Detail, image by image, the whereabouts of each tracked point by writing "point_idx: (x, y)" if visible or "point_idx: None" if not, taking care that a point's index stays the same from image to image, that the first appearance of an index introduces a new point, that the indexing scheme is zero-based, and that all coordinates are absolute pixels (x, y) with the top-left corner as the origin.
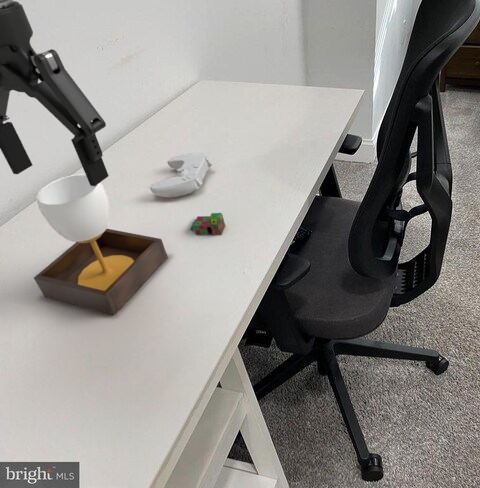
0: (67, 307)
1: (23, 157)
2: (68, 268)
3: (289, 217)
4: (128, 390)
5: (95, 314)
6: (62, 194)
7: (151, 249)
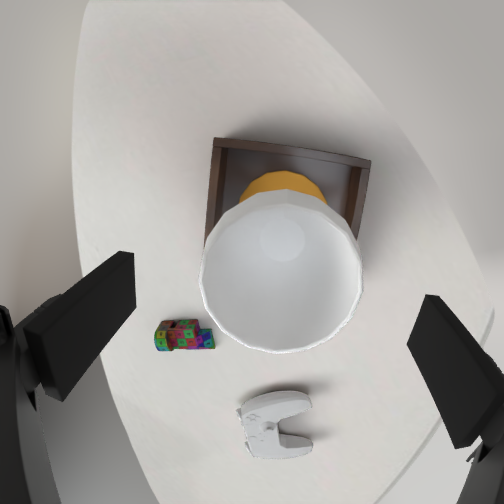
0: (308, 141)
1: (423, 351)
2: (347, 211)
3: (103, 352)
4: (139, 45)
5: (254, 134)
6: (340, 300)
7: None
